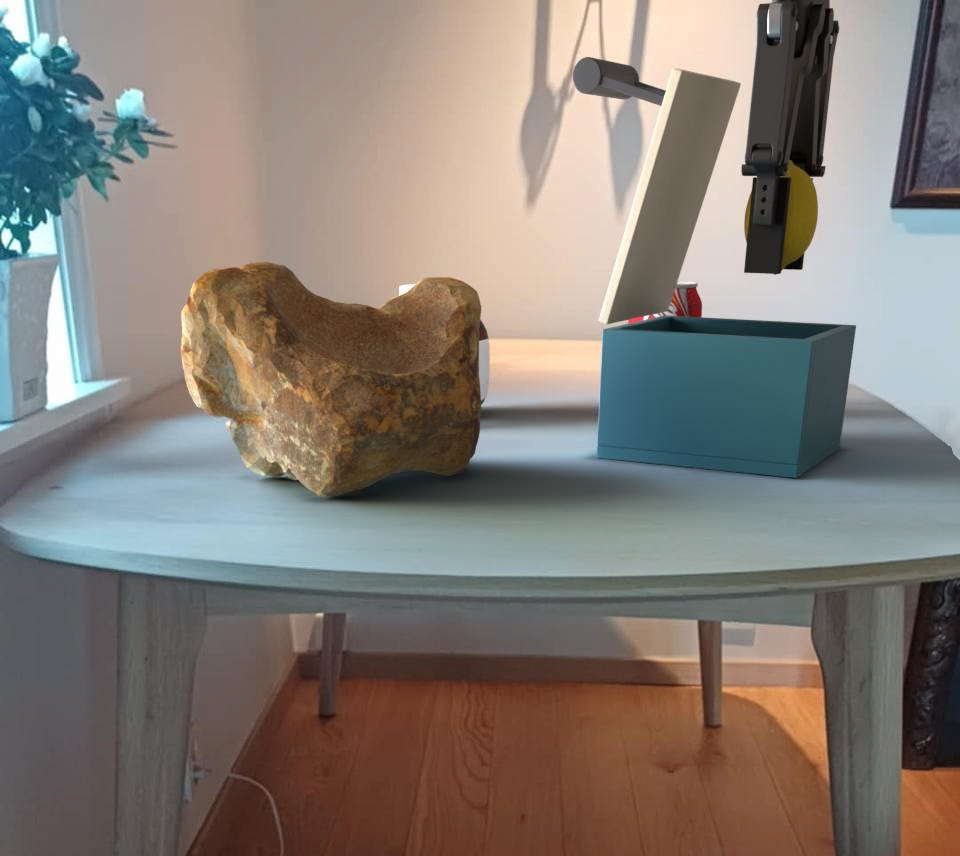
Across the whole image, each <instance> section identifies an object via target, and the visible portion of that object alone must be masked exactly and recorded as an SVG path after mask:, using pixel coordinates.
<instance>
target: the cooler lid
mask: <svg viewBox="0 0 960 856" xmlns="http://www.w3.org/2000/svg"><path fill="white" fill-rule="evenodd" d="M572 83H573V86H574V87H575V89H576V90H577V92H579V93H581V94H584V95H588V96H589V95H590V96H597V97H603V98H610V99H617V100H618V99H619V100H624V101H625V100H629V99H631V98H632V97H633V98H636V99H638V100H642V101H645V102H647V103H651V104H653V105H657V106H660V110H659V114H658V116H657V120H656V124H655V128H654V130H653V134H652V137H651V140H650V144H649V148H648V150H647V151H648V152H647V154H646V158H645V162H644V165H643V168H642V172H641V175H640V179H639V181H638V186H637V189H636V192H635V196H634V199H633V203H632V206H631V209H630V213H629V216H628V219H627V223H626V226H625V230H624V233H623V237H622V240H621V243H620V247H619V250H618V253H617V256H616V261H615V264H614V267H613V270H612V274H611V278H610V281H609V285H608V288H607V290H606V291H607V292H606V295H605V298H604V301H603V305H602V308H601V312H600V315H599V318H598V322H600V323H601V324H604V325H611V324H616V323H620V322H624V321H628V320H630V319H634V318H639V317H643V316H648V315H652V314H657V313H661V312H666V311H668V309H669V306H670V303H671V300H672V297H673V294H674V291H675V288H676V284H677V281H679V278H680V275H681V272H682V268H683V266H684V262H685V260H686V256H687V253H688V250H689V247H690V244H691V241H692V237H693V234H694V232H695V228H696V226H697V222H698V219H699V216H700V212H701V210H702V207H703V203H704V200H705V197H706V195H707V191H708V188H709V185H710V181H711V178H712V176H713V172H714V169H715V167H716V163H717V160H718V157H719V153H720V150H721V148H722V144H723V141H724V138H725V135H726V132H727V129H728V125H729V123H730V119H731V117H732V113H733V110H734V107H735V104H736V101H737V98H738V95H739V91H740V88H741V84H742V83H741V82H738V81H735V80H732V79H727V78H723V77H717V76H713V75H708V74H704V73H700V72H695V71H690V70H685V69H681V68H676V67H673V68H672V69H671V72H670V76H669V80H668V83H667V86H666V90H665V89H662V88H659V87H656V86H654V85H651V84H647V83H644V82H641V81H640V76H639V73H638V71H637V69H636V68H635V67H634V66H633V65H629V64H624V63H619V62H617V61H616V62H615V61H610V60H605V59H601V58H596V57H592V56H586V57H582V58H581V59H579V60H578V61H577V62H576V64H575V65H574V68H573V70H572Z"/></svg>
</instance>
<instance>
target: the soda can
mask: <svg viewBox="0 0 960 856" xmlns="http://www.w3.org/2000/svg"><path fill="white" fill-rule="evenodd" d="M697 287H698V282H696V281H686V280H678V281H677V284H676V288H675V291H674V294H673V297H672V300H671V303H670V306H669V309H668V311H666V312H661V313H657V314H652V315H648V316H643V317H639V318H634V319H630V320H627V324H629V323H633V322H638V321H642V320H647V319H651V318H656V317H660V316H684V317H703V302H702V299H701V296H700V294H699V293H698V290H697Z"/></svg>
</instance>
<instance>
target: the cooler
mask: <svg viewBox="0 0 960 856" xmlns="http://www.w3.org/2000/svg"><path fill="white" fill-rule="evenodd" d="M856 330H857V325H856V324H841V323H820V322H800V321H781V320H762V319H761V320H760V319H743V318H741V319H739V318H722V317H704V316H702V317H684V316H660V317H656V318H651V319H647V320H642V321H638V322H633V323H629V324H628V323H625V324H621V325H616V326H611V327H607V328H603V329H602V335H601V337H602V338H601V357H600V360H601V362H600V377H599V378H600V379H599V396H598V397H599V399H598V400H599V401H598V421H597V439H596V440H597V441H596V443H597V445H596V458H597V459H605V460H614V461H615V460H616V461H625V462H633V463H634V462H635V463H645V464H653V465H654V464H656V465H664V466H674V467H682V468H683V467H685V468H693V469H694V468H695V469H702V470H712V471H713V470H714V471H721V472H733V473H743V474H751V475H752V474H753V475H762V476H771V477H781V478H791V479H797V478H798V477H800V476H802V475H803V474H804V473H806V472H808V471H809V470H810V469H812V468H814V467H815V466H816V465H818V464H819V463H821V462H822V461H824V460H825V459H827V458H828V457H830V456H831V455H833V454H834V453H836V452H837V451H839V450H840V449H841V441H842V434H843V426H844V419H845V411H846V404H847V396H848V390H849V382H850V376H851V374H850V373H851V368H852V359H853V353H854V344H855V337H856Z"/></svg>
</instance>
